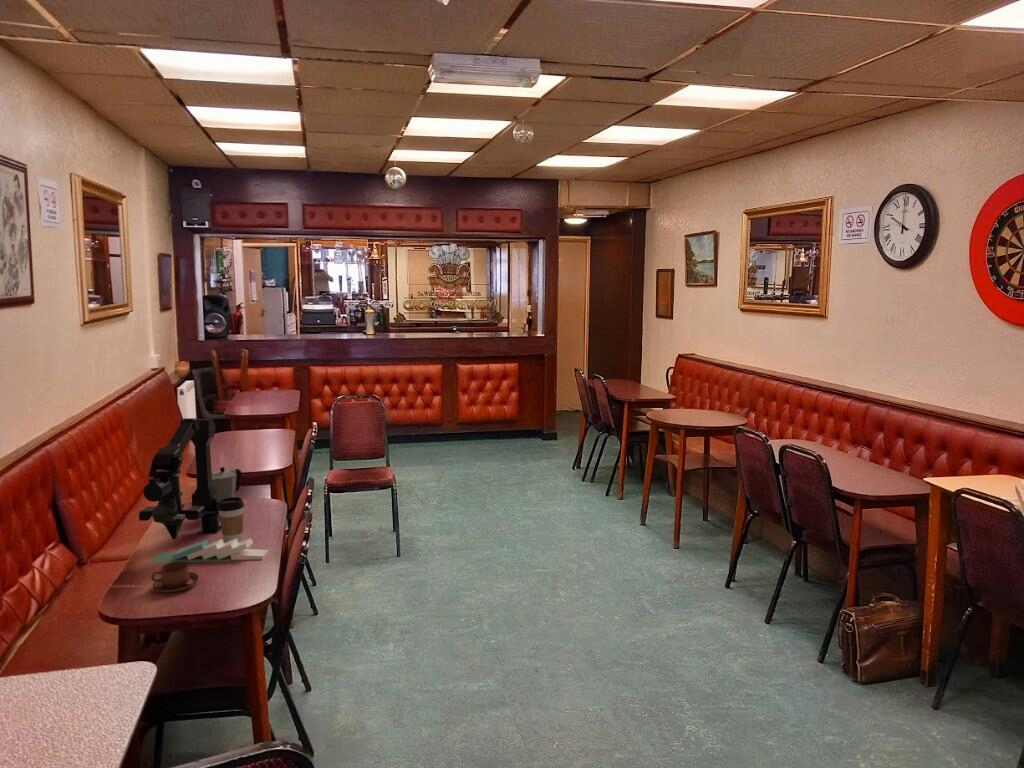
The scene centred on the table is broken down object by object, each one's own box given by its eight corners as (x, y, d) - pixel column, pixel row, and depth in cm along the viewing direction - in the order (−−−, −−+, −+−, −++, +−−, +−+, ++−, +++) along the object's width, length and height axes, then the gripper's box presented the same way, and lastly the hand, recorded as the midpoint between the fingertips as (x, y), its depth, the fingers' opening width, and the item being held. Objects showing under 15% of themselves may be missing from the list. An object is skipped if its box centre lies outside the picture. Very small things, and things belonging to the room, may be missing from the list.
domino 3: (208, 549, 233) (236, 538, 232) (210, 553, 233) (238, 542, 232) (201, 555, 228) (230, 544, 227) (203, 559, 228) (232, 548, 227)
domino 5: (237, 548, 233) (268, 550, 232) (237, 553, 233) (268, 554, 233) (230, 554, 228) (262, 556, 228) (231, 559, 228) (262, 561, 228)
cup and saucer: (157, 600, 202) (155, 579, 201) (149, 585, 212) (147, 565, 211) (203, 588, 209) (201, 568, 208) (193, 574, 219) (191, 555, 218)
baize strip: (160, 554, 235) (160, 552, 235) (239, 553, 234) (239, 551, 234) (148, 564, 227) (148, 562, 227) (229, 563, 226) (229, 561, 226)
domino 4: (222, 548, 233) (251, 537, 232) (224, 553, 233) (253, 542, 232) (216, 555, 228) (245, 543, 227) (218, 559, 228) (247, 548, 227)
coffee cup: (216, 547, 239) (212, 503, 237) (225, 538, 248) (221, 495, 245) (242, 547, 240) (238, 503, 237) (250, 537, 248) (247, 495, 246)
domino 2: (193, 549, 233) (221, 538, 232) (195, 553, 233) (224, 543, 232) (186, 555, 228) (215, 544, 227) (188, 560, 228) (217, 549, 227)
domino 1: (179, 549, 233) (208, 538, 232) (182, 553, 233) (210, 543, 232) (172, 555, 228) (201, 544, 227) (174, 560, 228) (203, 549, 227)
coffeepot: (221, 521, 264) (217, 473, 261) (202, 518, 268) (198, 470, 266) (253, 508, 278) (249, 462, 275) (235, 505, 282) (231, 460, 279)
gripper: (126, 500, 219) (131, 549, 222) (188, 499, 219) (193, 548, 222) (145, 488, 230) (150, 536, 233) (204, 488, 230) (208, 535, 233)
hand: (174, 539), depth 230 cm, fingers closed
